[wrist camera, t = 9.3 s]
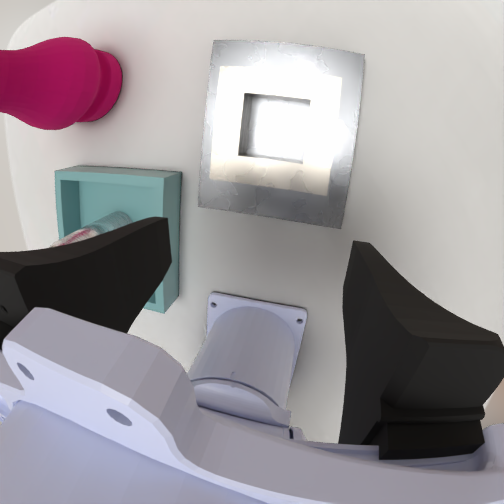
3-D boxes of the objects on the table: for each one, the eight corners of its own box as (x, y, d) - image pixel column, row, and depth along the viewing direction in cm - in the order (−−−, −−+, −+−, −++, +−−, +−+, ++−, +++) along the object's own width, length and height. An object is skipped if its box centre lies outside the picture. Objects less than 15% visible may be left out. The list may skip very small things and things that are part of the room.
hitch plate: (339, 224, 22) (343, 240, 18) (202, 203, 23) (184, 215, 20) (362, 57, 17) (371, 44, 14) (217, 43, 18) (201, 30, 15)
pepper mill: (73, 49, 20) (-127, 41, 1) (136, 45, 19) (-105, 0, 1) (59, 124, 23) (-142, 169, 4) (119, 130, 22) (-132, 184, 4)
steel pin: (134, 249, 25) (69, 299, 17) (106, 241, 25) (38, 285, 17) (135, 215, 24) (63, 256, 16) (106, 208, 24) (33, 244, 16)
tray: (178, 295, 26) (164, 313, 23) (84, 272, 28) (65, 285, 25) (181, 172, 22) (163, 177, 20) (77, 165, 24) (54, 170, 21)
